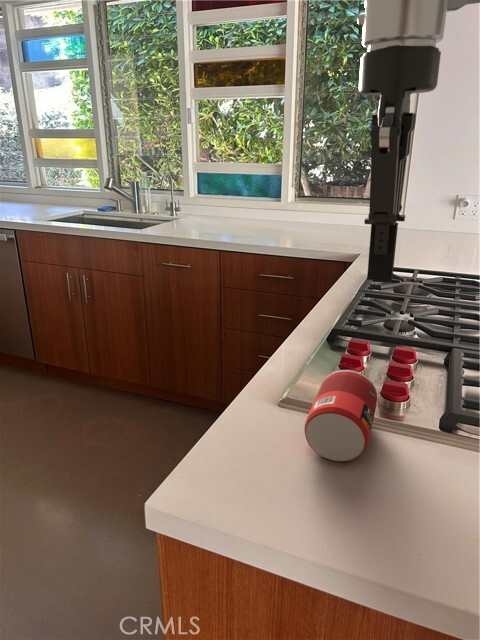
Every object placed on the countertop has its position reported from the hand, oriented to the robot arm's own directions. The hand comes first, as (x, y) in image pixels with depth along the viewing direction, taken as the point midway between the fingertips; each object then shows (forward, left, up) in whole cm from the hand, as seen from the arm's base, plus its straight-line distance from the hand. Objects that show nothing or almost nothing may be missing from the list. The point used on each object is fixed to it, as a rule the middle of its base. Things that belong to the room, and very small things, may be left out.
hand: (379, 278), depth 54 cm
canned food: (+5, +6, -19) cm, 20 cm away
